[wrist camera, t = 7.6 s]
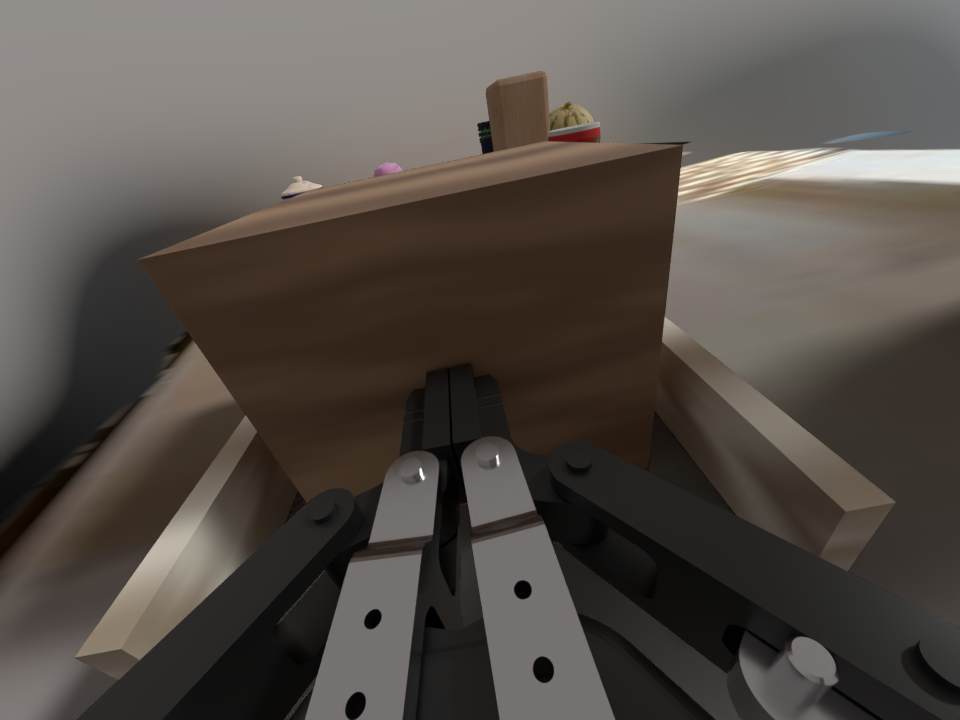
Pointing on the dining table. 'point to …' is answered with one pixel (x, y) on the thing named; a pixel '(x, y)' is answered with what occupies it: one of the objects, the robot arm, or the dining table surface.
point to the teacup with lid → (299, 188)
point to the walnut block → (440, 303)
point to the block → (518, 110)
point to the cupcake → (387, 169)
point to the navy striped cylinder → (485, 137)
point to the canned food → (577, 133)
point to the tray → (679, 403)
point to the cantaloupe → (568, 116)
